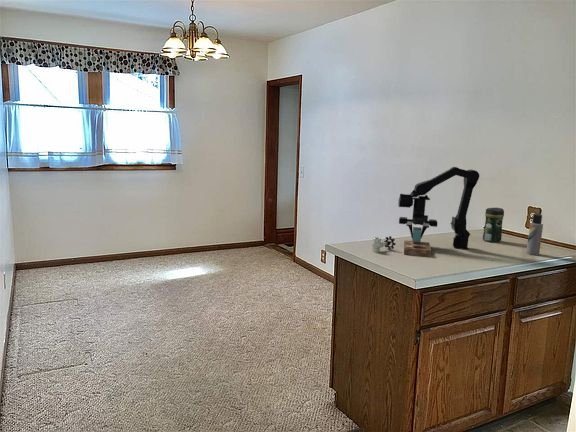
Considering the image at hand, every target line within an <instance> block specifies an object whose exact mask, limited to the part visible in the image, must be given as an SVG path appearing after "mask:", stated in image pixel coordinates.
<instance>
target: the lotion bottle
mask: <svg viewBox="0 0 576 432" xmlns="http://www.w3.org/2000/svg"><path fill="white" fill-rule="evenodd" d="M542 221H543V214H541V213H534V214H533V215H532V222H530V224H529V229H528V230H529V231H528V237H527V246H526V254H527V253H528V254H527V255H530V256H539V255H540V251H541V246H542V245H541V244H542V235H543V228H544V224H542Z"/></svg>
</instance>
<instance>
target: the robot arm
mask: <svg viewBox="0 0 576 432" xmlns="http://www.w3.org/2000/svg"><path fill="white" fill-rule="evenodd" d="M455 176H457V177H461V178H463V190H462V194H461V198H460V203H459V206H458V209H457V212H456V215H455V216H452V217H451V222H450V226H451V230H453V231H454V237H453V238H452V239H453V240H452V247H454V249H462V250H468V249H469V247H468V245H469V238H470V235H471V233H470V232H469V230H468V229H467V213H468V210H469V206H470V201H471V198H472V194H473V190H474V188H475V187H476V185H477V183H478V182H479V179H480V173H479V172H478V171H477V170H475V169H467V170H466V169H463V168H459V167H457V166H452V167H450V168H449V169H447V170H445V171H444V172H442V173H440V174H438V175H436V176H435V177H433V178H431V179H427V180H424V181H420V182H418V183H416V184H415V185H414V189H413V190H412V191H411V192H410V193H409V194H408V193H407V194H405V193H400V194H399V198H398V204H397V205H398V208H411V207H413V208H412V219H411V218H409V219H408V217H406V216H399V218H398V224H400V225H406V227H408V228H409V229H408V230H409V232H410V237H411V239H412V238H413V225H415V226H417V225H418V226H419V225H420V226H422V227H421V228H422V230H421V239H422V238H423V236H424V233H425V232H426V230H427V228H428V229H429V228H430V227H433V228H436V227H437V228H438V220H437V219H433V218H432V219H431V218H429V215H426V214H425V213H426V201H430V200H431V198H430V197H429V196H428V193H429V192H430V191H431V190H433V188H435V187H436V186H438V185H440V184H442V183H444V182H446V181H447V180H449V179H451V178H453V177H455Z"/></svg>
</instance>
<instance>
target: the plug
mask: <svg viewBox="0 0 576 432" xmlns="http://www.w3.org/2000/svg"><path fill="white" fill-rule="evenodd" d="M412 231H413V238H412V237H411V241H417V242H422V241H421V239H422V238H421V231H422V227H418V226H412Z"/></svg>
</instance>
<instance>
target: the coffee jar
mask: <svg viewBox="0 0 576 432" xmlns="http://www.w3.org/2000/svg"><path fill="white" fill-rule="evenodd" d="M484 216H485V221H484V229H483V234H482V240H483V241H484V242H487V243H488V242H490V243H498V242H501V241H502V237H503V235H502V234H503V221H504V216H505V211H504V209H503V208H501V207H487V208H486V209H485V213H484Z"/></svg>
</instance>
